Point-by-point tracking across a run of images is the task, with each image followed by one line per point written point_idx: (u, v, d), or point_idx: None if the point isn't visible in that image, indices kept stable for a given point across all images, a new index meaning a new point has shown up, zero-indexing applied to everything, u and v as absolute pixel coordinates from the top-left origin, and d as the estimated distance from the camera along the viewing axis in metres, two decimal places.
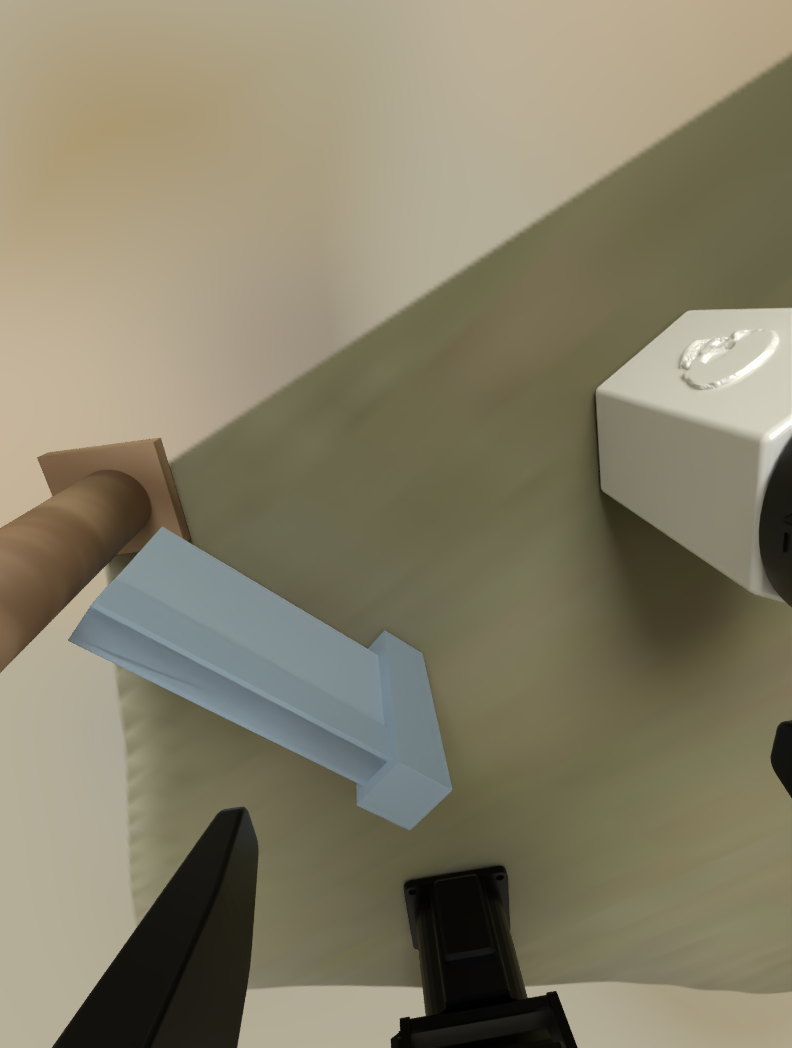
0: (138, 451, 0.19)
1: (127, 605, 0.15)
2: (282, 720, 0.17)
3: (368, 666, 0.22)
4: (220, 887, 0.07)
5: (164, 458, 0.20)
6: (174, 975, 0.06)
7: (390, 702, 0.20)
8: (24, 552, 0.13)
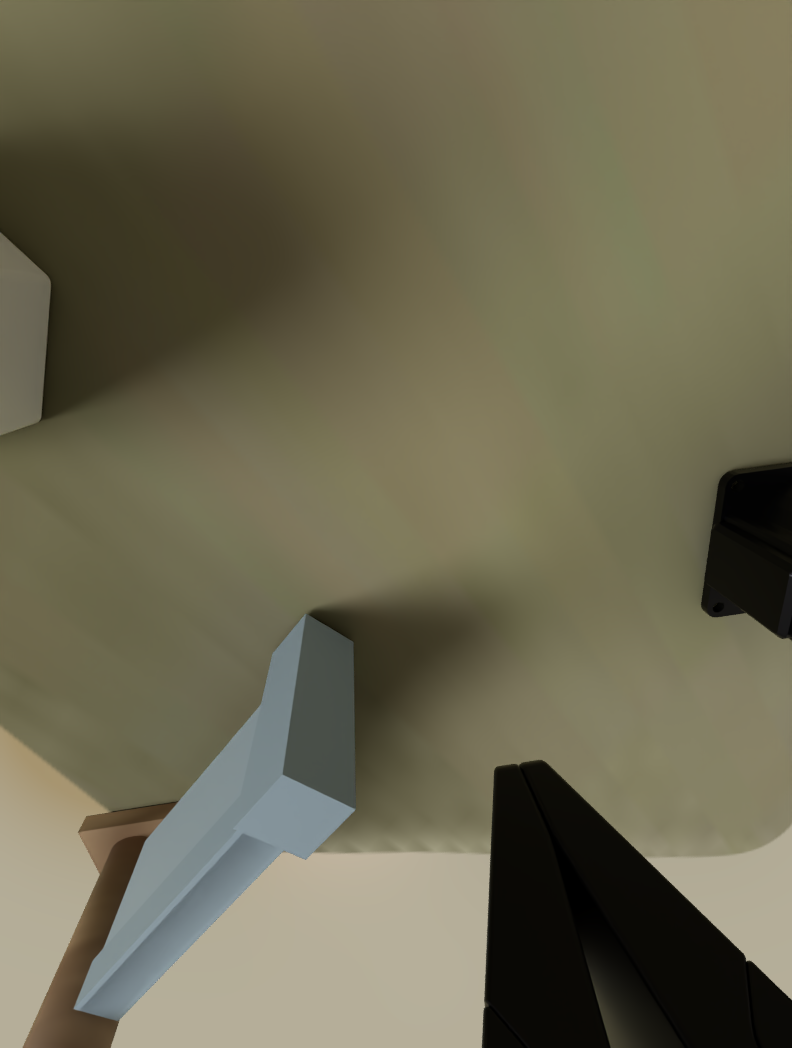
0: (88, 841, 0.23)
1: (92, 977, 0.17)
2: (196, 903, 0.16)
3: None
4: (546, 834, 0.07)
5: (100, 818, 0.24)
6: (566, 909, 0.06)
7: (254, 745, 0.17)
8: (24, 1045, 0.17)
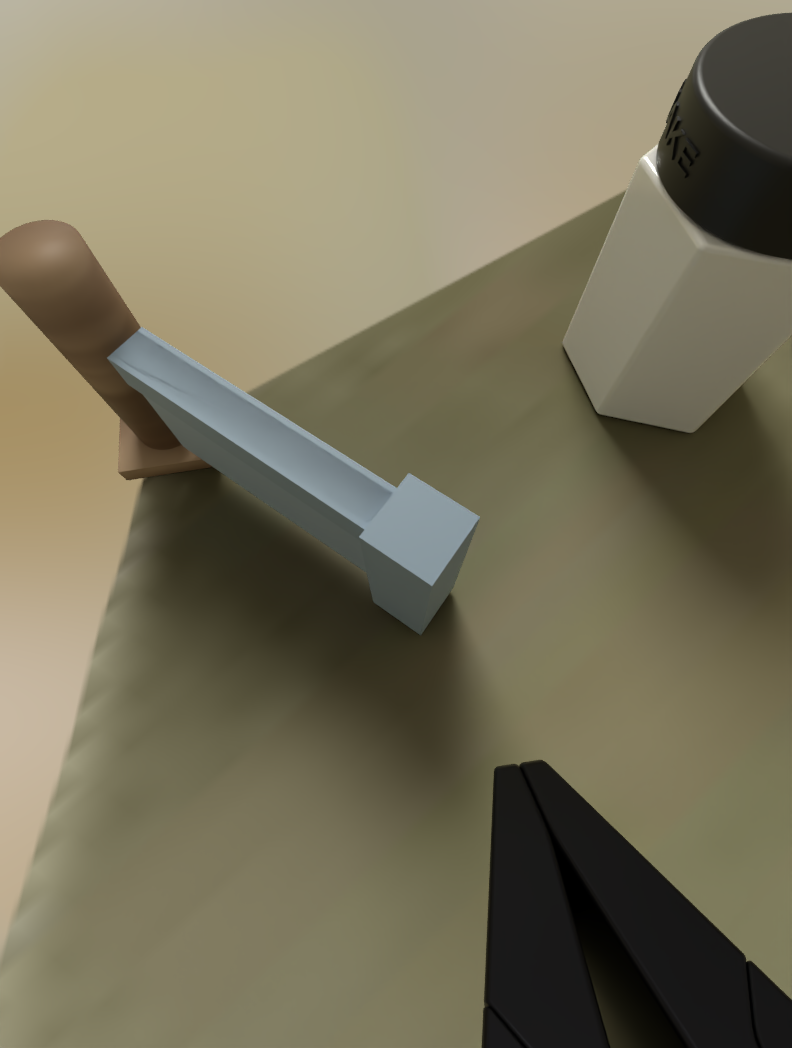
0: None
1: None
2: (281, 439, 0.15)
3: None
4: (546, 834, 0.07)
5: None
6: (566, 909, 0.06)
7: None
8: None
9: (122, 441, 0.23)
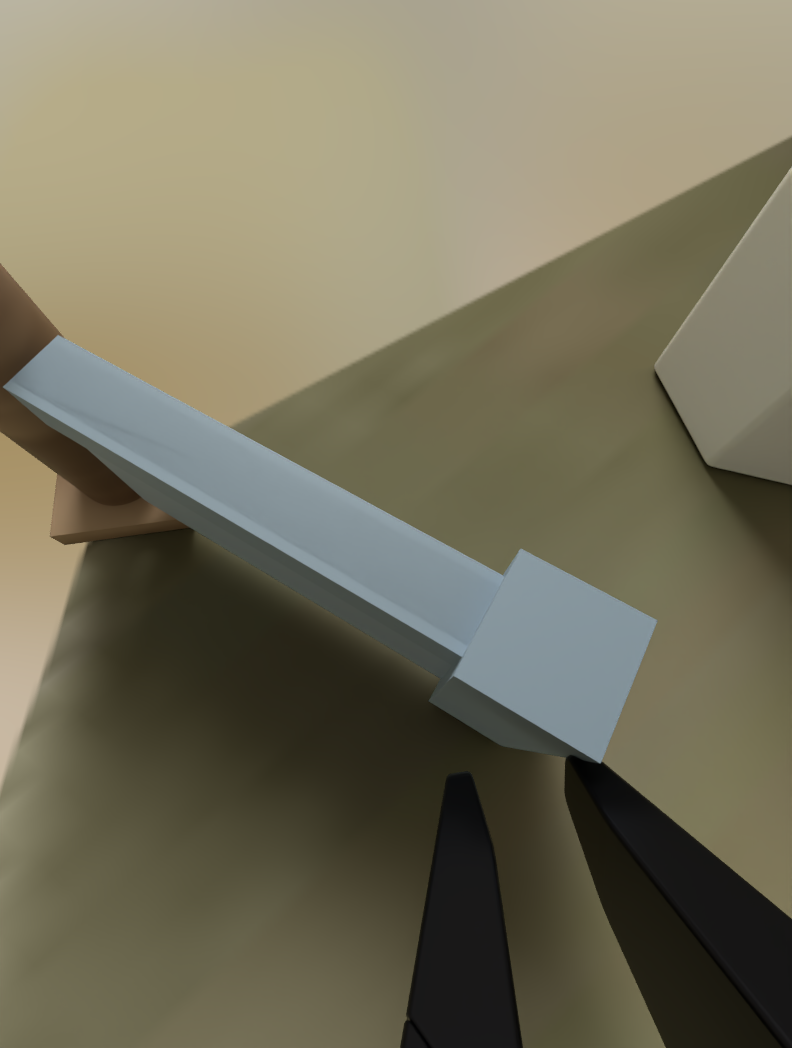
0: None
1: None
2: (295, 501, 0.09)
3: None
4: (489, 843, 0.07)
5: None
6: (498, 920, 0.06)
7: None
8: None
9: (59, 492, 0.17)
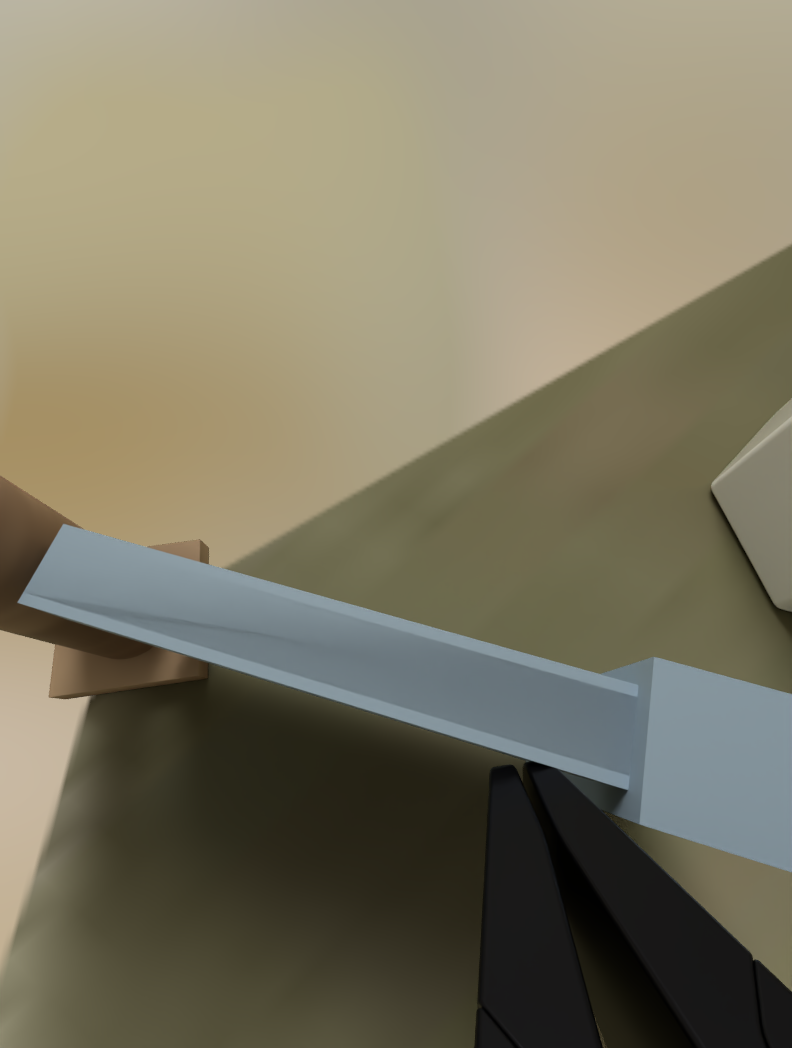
0: (179, 549, 0.17)
1: None
2: (393, 657, 0.09)
3: None
4: (540, 835, 0.07)
5: None
6: (560, 910, 0.06)
7: None
8: None
9: None
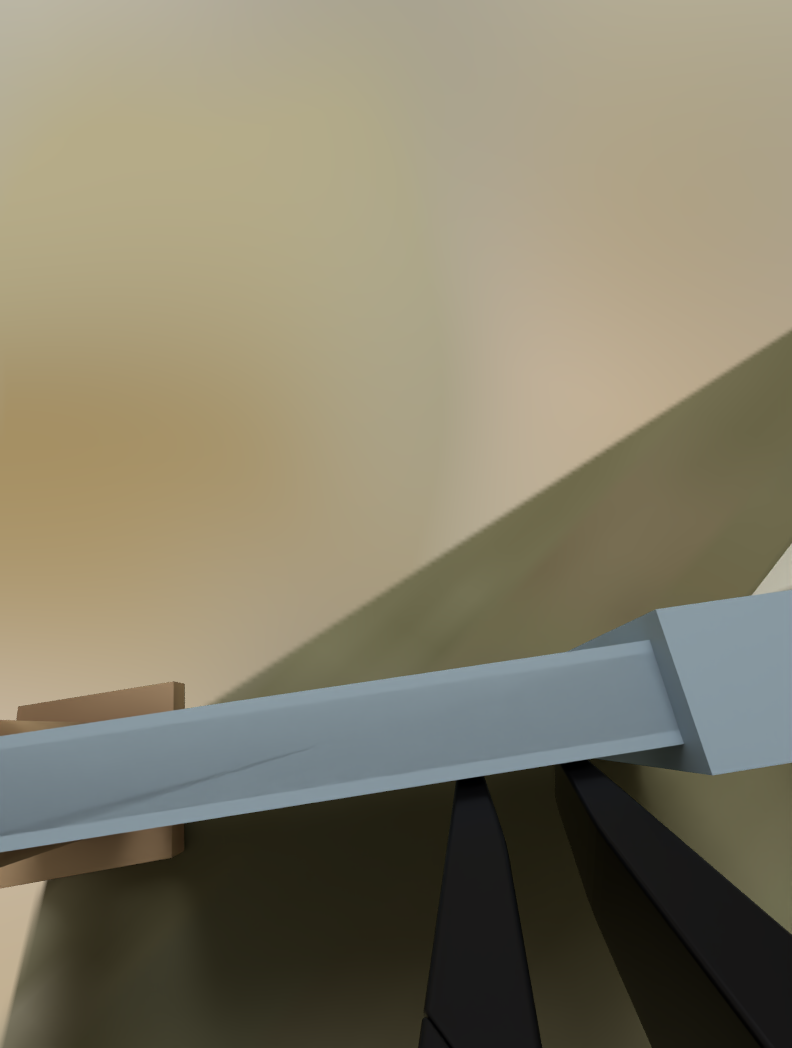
0: (150, 694, 0.14)
1: None
2: (417, 719, 0.08)
3: None
4: (502, 841, 0.07)
5: None
6: (514, 918, 0.06)
7: (592, 644, 0.11)
8: None
9: None
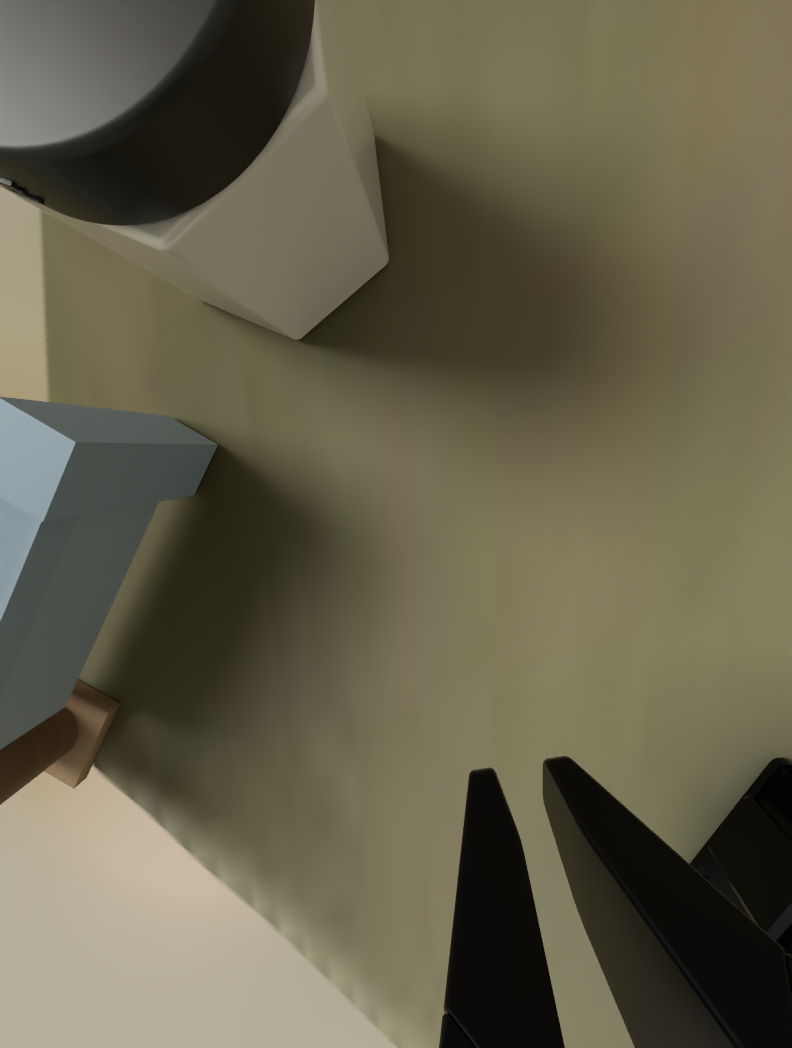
0: None
1: None
2: None
3: None
4: (516, 839, 0.07)
5: None
6: (531, 915, 0.06)
7: None
8: None
9: (45, 768, 0.23)
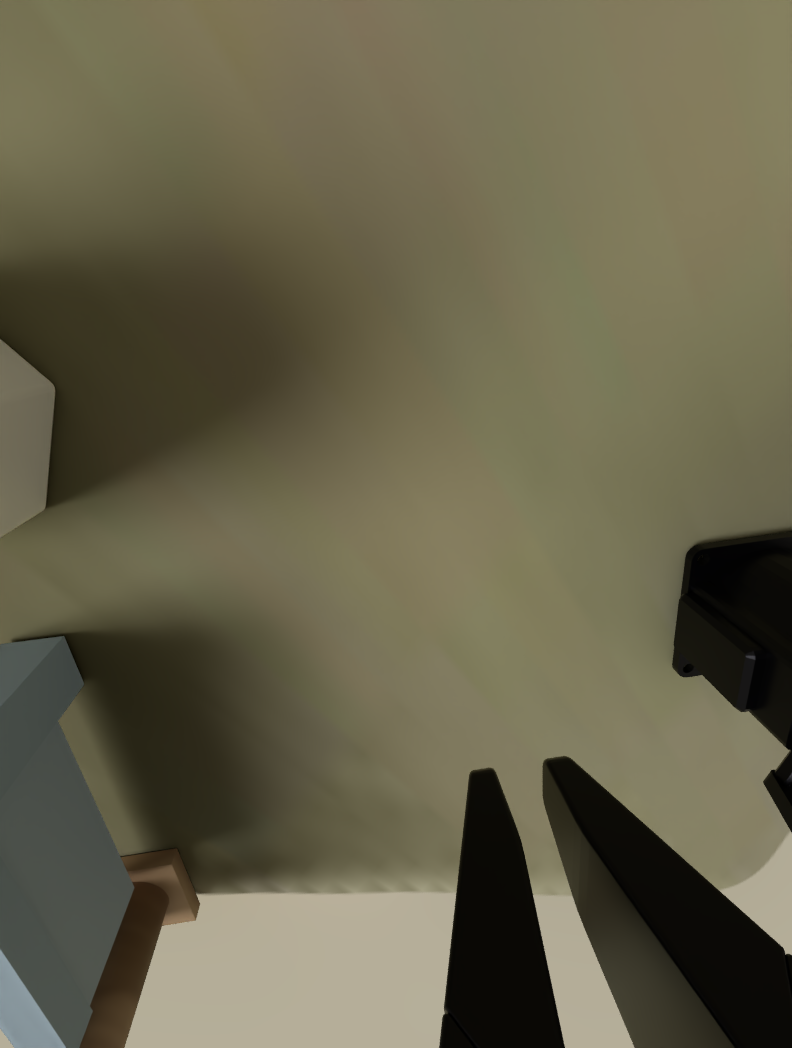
0: None
1: None
2: None
3: None
4: (517, 839, 0.07)
5: None
6: (531, 915, 0.06)
7: None
8: None
9: (163, 923, 0.26)
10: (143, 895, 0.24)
